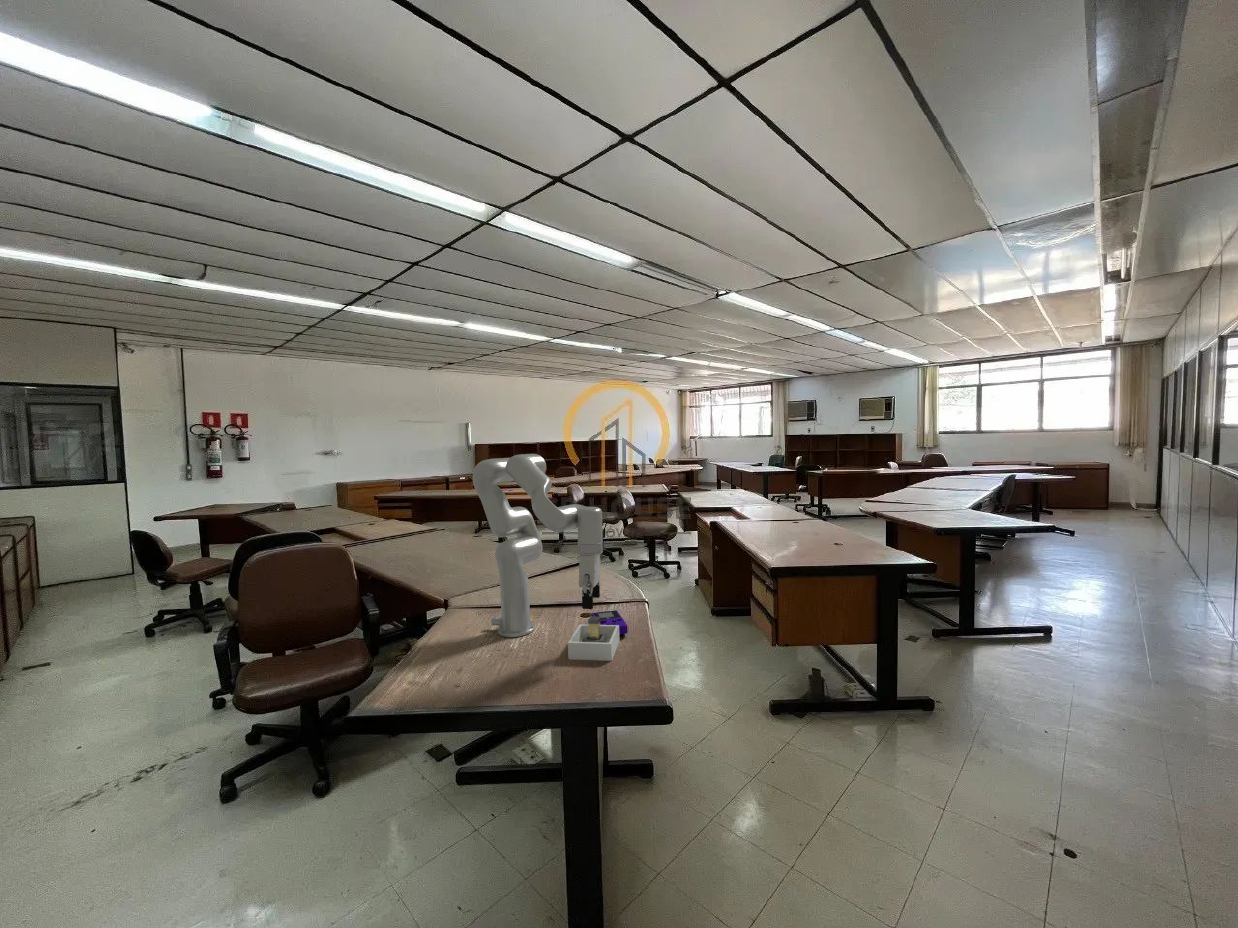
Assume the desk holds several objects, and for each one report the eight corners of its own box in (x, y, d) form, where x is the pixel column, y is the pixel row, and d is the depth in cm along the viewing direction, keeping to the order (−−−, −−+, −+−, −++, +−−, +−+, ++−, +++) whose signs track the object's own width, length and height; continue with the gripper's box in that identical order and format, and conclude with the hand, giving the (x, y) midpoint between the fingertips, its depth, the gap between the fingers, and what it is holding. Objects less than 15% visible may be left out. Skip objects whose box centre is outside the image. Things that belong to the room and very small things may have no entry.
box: (568, 659, 139) (567, 642, 139) (580, 639, 153) (579, 624, 152) (611, 660, 137) (611, 643, 137) (619, 640, 151) (619, 625, 150)
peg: (589, 648, 143) (588, 619, 143) (591, 644, 146) (590, 616, 146) (598, 648, 143) (597, 620, 143) (601, 644, 146) (599, 616, 145)
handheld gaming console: (600, 627, 151) (591, 611, 165) (600, 643, 151) (591, 626, 165) (628, 623, 153) (616, 608, 167) (628, 639, 153) (617, 623, 168)
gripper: (584, 541, 153) (585, 593, 154) (570, 554, 136) (572, 612, 137) (607, 541, 151) (608, 594, 152) (596, 555, 134) (597, 614, 135)
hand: (591, 602), depth 144 cm, fingers open, 9 cm apart
